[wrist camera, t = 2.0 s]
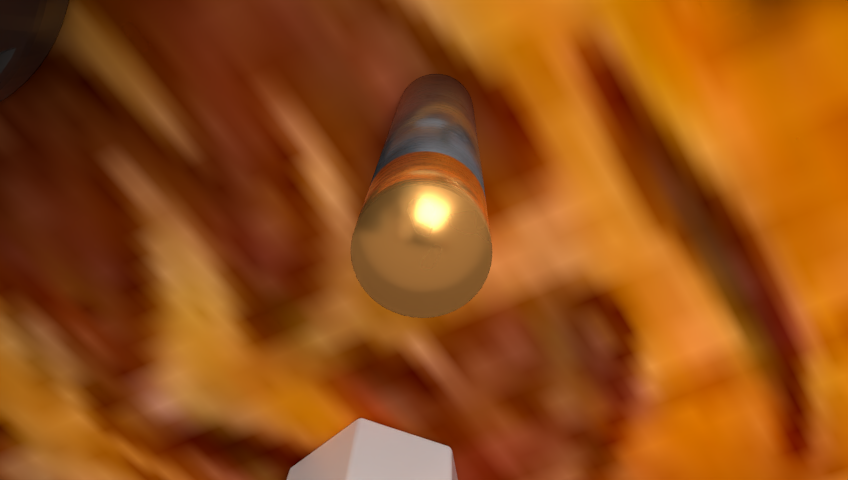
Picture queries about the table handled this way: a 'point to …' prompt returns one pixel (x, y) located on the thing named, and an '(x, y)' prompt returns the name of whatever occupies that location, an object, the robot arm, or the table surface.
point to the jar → (376, 456)
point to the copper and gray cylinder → (426, 206)
